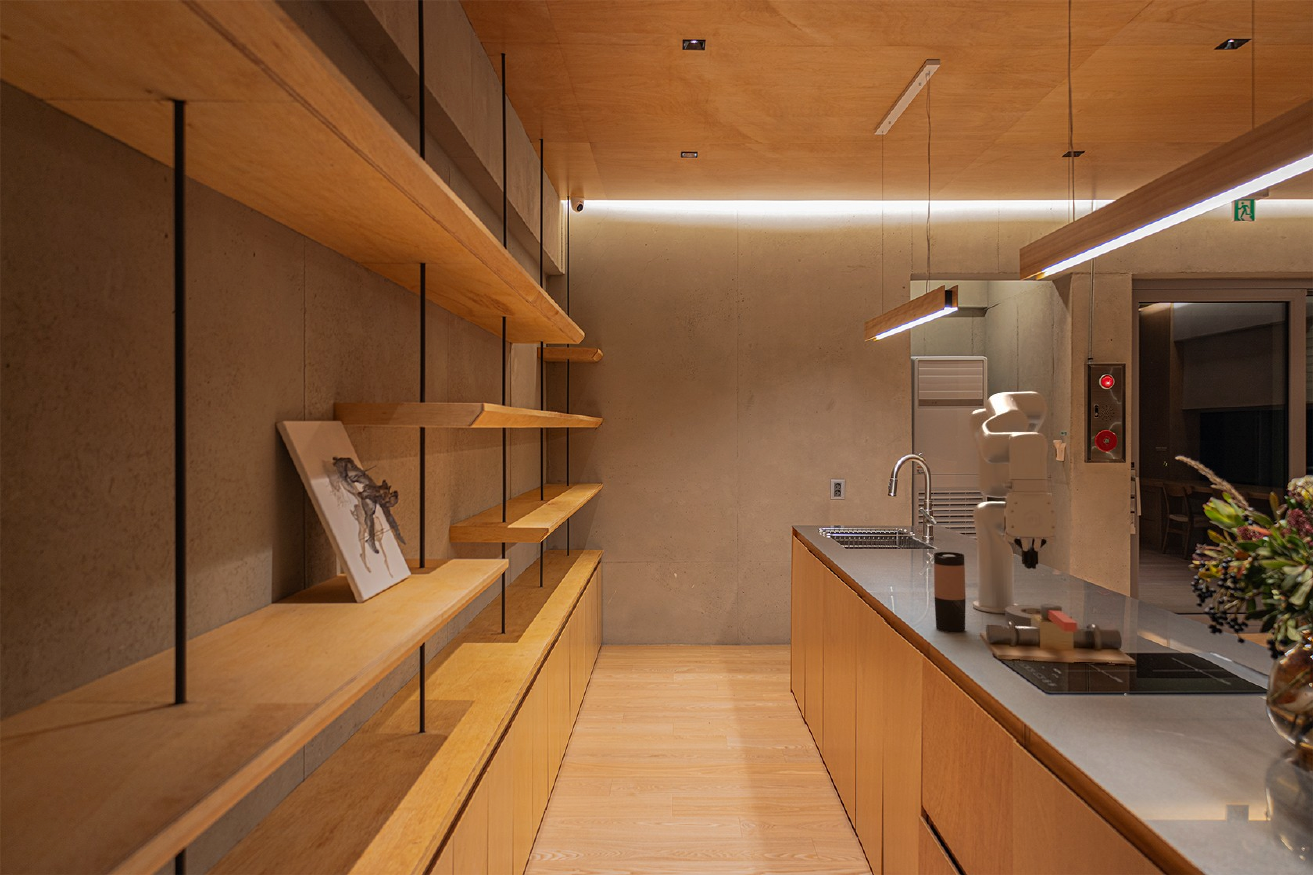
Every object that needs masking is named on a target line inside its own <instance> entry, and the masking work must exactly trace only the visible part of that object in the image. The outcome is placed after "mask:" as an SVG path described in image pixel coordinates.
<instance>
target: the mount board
mask: <svg viewBox="0 0 1313 875" xmlns="http://www.w3.org/2000/svg"><path fill="white" fill-rule="evenodd" d="M979 637H980V639H981V640H982V642H984V643H985V645H986V646H987V647H988V648H989V650H990V651H991V652H992V654H994V656H995V657H996V658H997V659H998V660H1012V659H1020V660H1019V661H1033V660H1034V661H1033V662H1035V661H1037V662H1055V663H1056V662H1058V663H1074V662H1109V663H1111V662H1112V663H1127V664H1135V665H1136V660H1134V659H1133V658H1132V657H1130V656H1129V655H1127V654H1126V653H1125V652H1123V651H1122V650H1120V649H1104V648H1102V649H1101V651H1095V650H1094V649H1092V648H1082V647H1073V649H1074V651H1062V650H1040V649H1039V648H1038V647H1037V646H1036V645H1017V646H1016V647H1011V646H1010V645H1009V644H990V643H988V641H987V636H986V632H979Z"/></svg>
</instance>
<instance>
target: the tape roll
mask: <svg viewBox="0 0 1313 875" xmlns="http://www.w3.org/2000/svg"><path fill="white" fill-rule="evenodd" d="M1062 612H1063V613H1064V614H1065V615H1067V616H1068V617H1069V618H1071V619H1072V620H1073V618H1072V615H1071V613H1070V612H1068V611H1065V610H1063V609H1062ZM1004 614H1005V615H1004V623H1005V622H1006V621H1013V622H1014V624H1015V626H1031V614H1035V615H1041V605H1035V604H1018V605H1013V606H1008V607H1006V608H1005V613H1004Z"/></svg>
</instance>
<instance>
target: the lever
mask: <svg viewBox="0 0 1313 875" xmlns="http://www.w3.org/2000/svg"><path fill="white" fill-rule="evenodd" d="M1040 606H1041V617H1042V618H1045V619H1050V620H1051V621H1052V622H1054V623H1055V624H1056V625H1057V626H1059V627H1060V628H1061V629H1062V630H1064V631H1069V632H1077V628H1078V627H1077V626H1078V624H1077V623H1078V622H1077V621H1075V620H1074V619H1073V618H1072V619H1071V618H1069V617H1068V616H1067V615H1065V614H1064V613H1063V612H1062V610H1063V607H1062V606H1061V605H1057V604H1051V603H1050V604H1049V603H1044V604H1043V603H1042V604H1040Z"/></svg>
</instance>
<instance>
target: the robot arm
mask: <svg viewBox="0 0 1313 875" xmlns="http://www.w3.org/2000/svg"><path fill="white" fill-rule="evenodd" d="M1047 406H1048V405H1047V403H1046V400H1045V397H1044V396H1043V395H1042V394H1040V393H1039V392H1036V391H1015V392H1014V391H1009V392H999V393H996V394H993V395H991V396H990V397H989V398H988V399H987V401H986V403H985V405H984V408H981V409H975V410H974V411H972V412H971V413H970V415H969V419H968V423H969V425H968V426H969V430H970V434H971V436H972V438H973V441H974V444H975V446H976V449H977V474H978V475H977V476H978V477H977V478H978V479H977V482H978V490H979V492H980V494H981V495H983V497H989V498H1005V501H984V502H979V503H978V504H977V505H975V507H974V508H973V512H972V516H973V523H974V529H975V533H976V534H975V536H976V550H977V551H976V553H977V554H976V555H977V594H978V595H977V596H978V597H977V598H978V599H977V600H975V601H973V602H972V607H973V608H974V609H976V610H979V611H982V612H987V613H992V614H993V613H994V614H1005V608H1006V607H1008V606H1013V605H1019V604H1018V603H1015V583H1014V582H1015V579H1014V576H1015V574H1014V551H1013V548H1012V545H1011V544H1010V543H1013V544H1015V545H1016V546H1017V547H1018V548H1019V549H1020V550H1021V564H1022V565H1023V566H1024V568H1026V569H1028V570H1031V569H1033V570H1036V569H1037V566H1038V565H1039V552H1040V550H1041V548H1043V547H1044V546H1045V545H1046V544H1052V543H1055V542H1057V537H1056V536H1057V533H1058V530H1057V529H1058V528H1057V527H1058V525H1057V517H1056V515H1057V514H1056V508H1055V503H1054V499H1053V494H1052V493H1051V492H1048V470H1047V469H1048V468H1047V457H1048V453H1049V445H1048V440H1047V437H1046V436H1045V435H1044V434H1043V433H1041V432H1038V431H1039V430H1040V428H1041V426H1042V425H1043V424H1044V421H1045V419H1046V417H1047V410H1048V407H1047ZM1028 539H1031V542H1030V547H1029V542H1028Z"/></svg>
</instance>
